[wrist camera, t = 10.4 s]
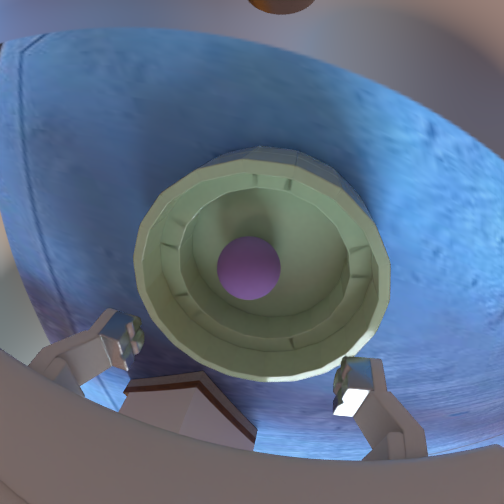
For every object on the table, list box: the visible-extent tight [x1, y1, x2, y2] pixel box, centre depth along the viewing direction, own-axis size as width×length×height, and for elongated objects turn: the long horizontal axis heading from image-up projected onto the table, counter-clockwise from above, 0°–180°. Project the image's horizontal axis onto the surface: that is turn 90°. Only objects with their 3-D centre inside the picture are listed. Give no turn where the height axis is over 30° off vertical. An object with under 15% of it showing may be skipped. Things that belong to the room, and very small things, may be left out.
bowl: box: [133, 146, 391, 382], centre depth 17 cm, size 13×13×5 cm
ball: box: [217, 236, 281, 300], centre depth 17 cm, size 4×4×4 cm
